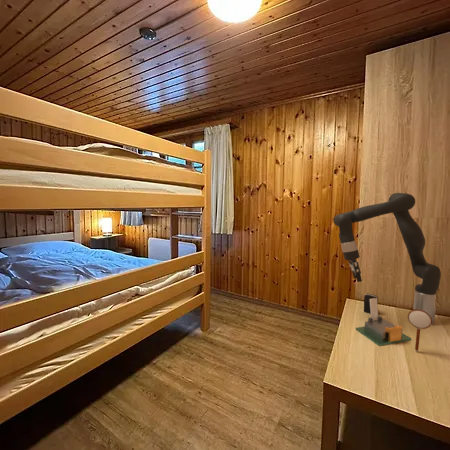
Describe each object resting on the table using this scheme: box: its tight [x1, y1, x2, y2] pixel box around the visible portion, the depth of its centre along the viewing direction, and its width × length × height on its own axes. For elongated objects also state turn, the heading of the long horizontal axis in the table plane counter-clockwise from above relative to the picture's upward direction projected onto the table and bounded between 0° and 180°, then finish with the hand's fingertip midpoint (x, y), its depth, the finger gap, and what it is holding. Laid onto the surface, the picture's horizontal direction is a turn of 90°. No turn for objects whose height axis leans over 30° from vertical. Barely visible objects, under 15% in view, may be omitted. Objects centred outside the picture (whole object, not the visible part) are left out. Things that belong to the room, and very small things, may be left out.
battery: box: [363, 293, 379, 315], centre depth 152 cm, size 7×4×11 cm, turn 47°
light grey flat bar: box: [370, 298, 379, 320], centre depth 134 cm, size 4×11×1 cm
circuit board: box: [355, 315, 412, 347], centre depth 128 cm, size 19×15×8 cm
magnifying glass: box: [407, 309, 433, 352], centre depth 114 cm, size 9×2×20 cm, turn 49°
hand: (357, 279), depth 135 cm, fingers open, 8 cm apart
